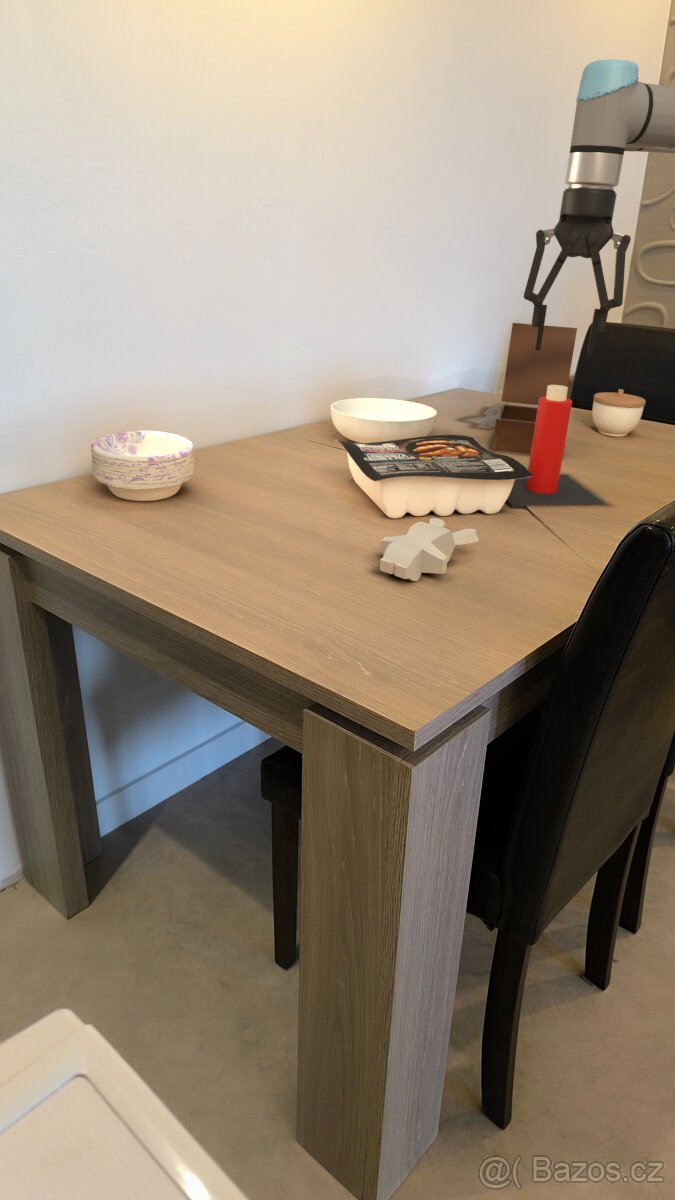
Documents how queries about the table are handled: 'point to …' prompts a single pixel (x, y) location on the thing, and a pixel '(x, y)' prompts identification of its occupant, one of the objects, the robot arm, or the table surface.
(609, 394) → the trinket box
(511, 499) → the mat
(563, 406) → the ketchup
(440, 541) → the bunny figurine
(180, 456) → the paper bowls
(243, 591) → the table surface
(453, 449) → the food packaging
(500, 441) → the chest
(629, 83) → the robot arm
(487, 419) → the cloth
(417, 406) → the serving bowl
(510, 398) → the chest lid
